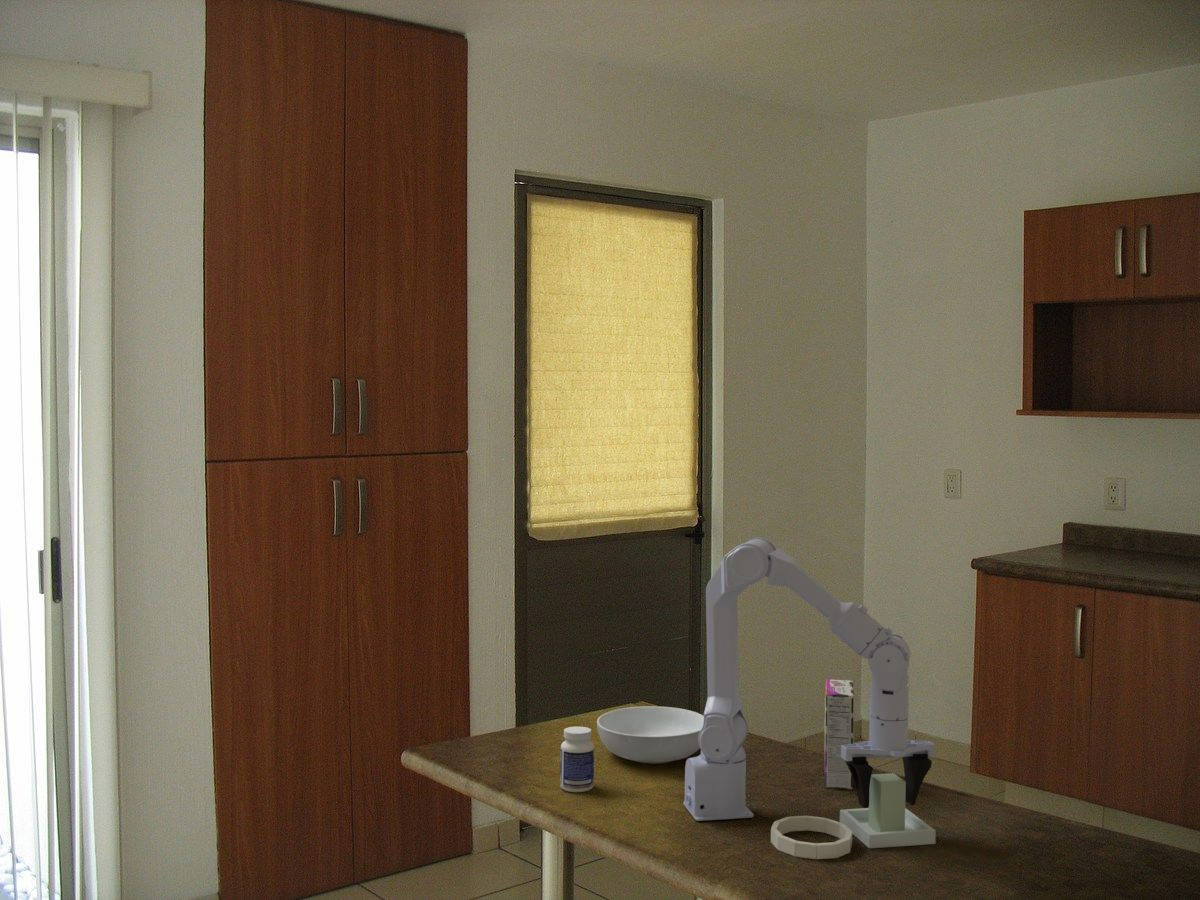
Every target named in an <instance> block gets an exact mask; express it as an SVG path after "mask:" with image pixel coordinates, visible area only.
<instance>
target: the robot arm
mask: <svg viewBox="0 0 1200 900" xmlns="http://www.w3.org/2000/svg"><path fill="white" fill-rule="evenodd" d="M765 577H767V580H766V583H765V585H768V586H769V585H770V586H778V587H787V588H788V589H790V590H791V591H792V592H793V593H794V594H796V595H797V596H799V597H800V598H801V599H802V600H804V601H805V602H806V603H808V604H809V605H810V606H812V607H813V608H814V609H815V610H817V611H818V612H819V613H821V614H822V615H823V616H824V617H826V618H827V621H828V628H829V631H830V632H831V633H832V634H834V635H835V636H836V637H837V638H838V639H839V640H841V641H842V643H844V644H846V645H847V646H848V647H849V648H850V649H851V650H852V651H854V652H855V653H856V654H857V655H858V656H860V657H861V658H864V659H866V660H867V663H868V666H869V669H870V671H871V683H870V687H869V723H868V724H869V730H868V740H865V741H859V742H853V744H848V745H841V758H843V759H844V760H845V762H846V764H847V766H848V768H849V770H850V773H851V775H852V778H853V785H854V786H855V791H856V794H857V801H858V805H859V806H861V807H862V808H869V787H870V780H871V775H872V774H873V770H874V768H873V766H871V765H870V764H869V760H870V759H885V758H886V759H887V758H902V762H903V763H902V764H903V771H904V781H906V793H905V803H908V804H909V805H911V806H915V805H916V801H917V798H918V796H919V791H920V790H921V786H922V783H923V781H924V779H925V777H926V775H927V774H928V772H929V771H930V770H931V768H932V763H933V762H932V759H930V757H931V758H933V757H935V756H936V755H935V753H936V751H935V750H936V745H935V744H936V743H933V742H932V741H930V740H913V739H911V740H910V739H909V731H908V730H909V704H910V703H909V695H910V694H909V692H910V689H909V685H908V683H909V675H908V673H909V672H908V670H909V667H910V660H911V649H910V647H909V644H908V643H907V641H906V640H904V639H903V637H902V636H901V635H899V634H897V633H894V632H893V631H894V630H893V629H892V628H890V627H889V626H887V627H886V628H885V627H884V626H883V625H882V624H881V623H880V622H878V621H877V620H876V619H874V617H873V616H871V615H870V614H869V613H867V612H869V609H868V607H867V606H865V605H864V604H860V606H859V605H858V604H856V603H855V602H853V601H849V602H843V601H840V599H838V598H837V597H836V596H835V595H834V594H833V593H831V592H830V591H829V589H827V588H826V587H825V586H824V585H823V584H822V583H821V582H819V581H818V580H817V579H816V578H815V577H814V576H813V575H811V573H809V572H808V571H807V570H806V569H805V568H804V567H803V566H801V564H799V563H798V562H797V560H795V559H794V558H793V557H791V556H790V555H789V554H788V553H787V552H785V551H784V550H783V549H781V548H779V547H777V548H776V546H775V545H774V544H773V542H772V541H770V540H768V539H766V538H764V537H763V538H762V537H754V538H751V539H749V540H747V541H746V542H744V543H741V544H739V545H737V546H736V547H734V548H733V549H732V550H730V551H729V552H728V553H727V554H725V555H724V556H723V557H722V560H721V562H720V564H719V565H718V567H717V568H716V570H715V572H714V573H713V575H712V576H711V578H710V580H709V581H708V583H707V585H706V586H705V607H706V608H705V610H706V611H705V614H706V615H705V617H706V618H705V619H706V620H705V621H706V623H705V624H706V667H707V669H706V671H707V674H706V675H707V676H706V677H707V679H706V680H707V698H706V699H707V700H706V704H705V707H704V711H703V716H704V723H703V726H702V729H701V730H700V732H699V736H698V743H699V747H700V749H699V750H700V754H699V755H698V756H693V757H689V758H687V759H686V761H685V767H684V801H683V802H682V804H683V806H684V807H685V808H686V810H687V811H688V812H689V813H690V815H691V816H692V817H693V819H694V820H695V821H697V822H703V821H717V820H719V821H721V820H735V819H736V820H737V819H738V820H739V819H749V818H750V819H751V818H754V817H755V815H754V814H755V813H753V812H752V811H751V810H750V809H749V808H748V806H746V782H747V781H746V780H747V779H746V777H747V775H746V774H747V771H746V770H747V759H746V758H747V752H746V751H745V749H744V748H743V743H744V742H745V740H746V738H747V737H748V734H749V731H750V730H749V723H748V720H747V719H746V716H745V714H744V712H743V701H742V698H741V697H740V686H739V685H740V684H739V683H740V682H739V681H740V680H739V678H740V676H739V675H740V674H739V671H740V669H739V628H738V627H739V625H738V623H739V622H738V621H739V620H738V619H739V618H738V597H739V596H741V595H742V593H744V591H746V590H747V589H748V588H749V587H750V586H752V585H755V584H757V583H759V582H760V581H762V580H763V579H764V578H765ZM868 759H869V760H868Z"/></svg>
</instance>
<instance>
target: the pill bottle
mask: <svg viewBox="0 0 1200 900" xmlns="http://www.w3.org/2000/svg"><path fill="white" fill-rule="evenodd" d="M563 738H564V741H562V743H561V745H560V765H559V766H560V770H559V771H560V774H559V775H560V776H559V777H560V778H559V785H560V788H561V789H562V790H563V791H566V792H569V793H583V792H589V791H591V790H592V789H593V788H594V781H595V746H594V743H593V742H591V741H590V740H591V738H592V729H591V728H590V727H587V726H586V727H585V726H569V727H566V728H564V729H563Z"/></svg>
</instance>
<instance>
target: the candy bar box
mask: <svg viewBox="0 0 1200 900" xmlns="http://www.w3.org/2000/svg"><path fill="white" fill-rule="evenodd" d="M824 690H825V693H824V732H823V733H824V738H823V739H824V741H823V743H824V755H823V756H824V759H823V761H824V786H825V788H827V789H837V790H853V788H854V787H853V786H854V781H853V778H852V775H851V773H850V770H849V768H848V766H847V764H846V762H845V760H844V759H843V758H841V745H848V744H854V743H855V742H854V735H855V734H854V733H855V732H854V728H855V727H854V722H855V720H854V715H855V714H854V713H855V711H854V710H855V707H854V706H855V705H854V704H855V700H854V699H855V698H854V697H855V696H854V695H855V694H854V683H853V680H849V679H834V678H826V679H825V689H824Z"/></svg>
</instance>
